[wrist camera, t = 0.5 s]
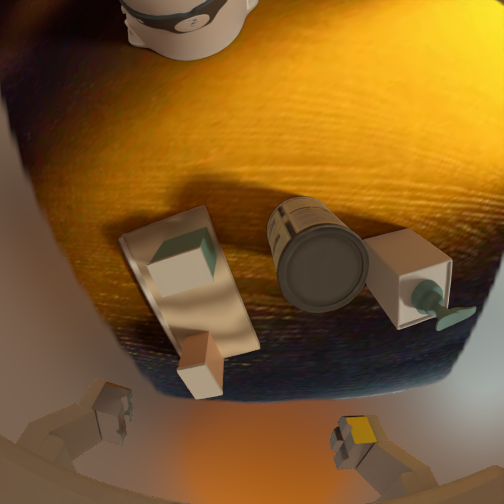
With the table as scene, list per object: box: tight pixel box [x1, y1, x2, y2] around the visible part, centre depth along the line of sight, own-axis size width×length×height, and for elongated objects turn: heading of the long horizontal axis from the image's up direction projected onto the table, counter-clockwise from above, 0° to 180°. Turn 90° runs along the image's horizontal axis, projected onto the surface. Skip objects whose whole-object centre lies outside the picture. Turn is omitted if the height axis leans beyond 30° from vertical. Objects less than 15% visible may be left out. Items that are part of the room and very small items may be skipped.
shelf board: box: [117, 204, 260, 358], centre depth 47 cm, size 26×14×2 cm, turn 18°
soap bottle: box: [363, 228, 476, 331], centre depth 38 cm, size 9×9×19 cm
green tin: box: [147, 227, 218, 297], centre depth 39 cm, size 5×7×8 cm
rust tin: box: [177, 331, 224, 399], centre depth 46 cm, size 5×7×8 cm
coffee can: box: [267, 197, 370, 313], centre depth 38 cm, size 10×10×14 cm
